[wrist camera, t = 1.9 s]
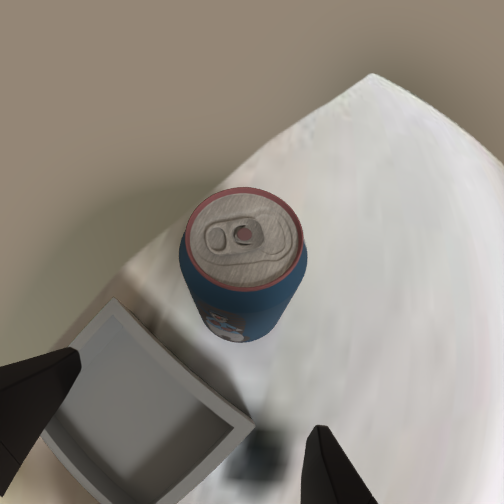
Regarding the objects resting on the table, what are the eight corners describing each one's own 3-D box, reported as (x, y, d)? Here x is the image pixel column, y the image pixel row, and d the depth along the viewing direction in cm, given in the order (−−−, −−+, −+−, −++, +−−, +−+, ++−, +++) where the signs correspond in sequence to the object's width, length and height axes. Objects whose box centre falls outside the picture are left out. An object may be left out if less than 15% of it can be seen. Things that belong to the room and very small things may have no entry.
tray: (252, 419, 19) (255, 425, 16) (150, 516, 14) (137, 533, 10) (130, 311, 23) (113, 296, 19) (45, 406, 17) (20, 405, 14)
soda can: (269, 263, 26) (292, 172, 15) (288, 335, 23) (335, 285, 12) (194, 276, 25) (168, 189, 14) (207, 351, 22) (180, 315, 11)
